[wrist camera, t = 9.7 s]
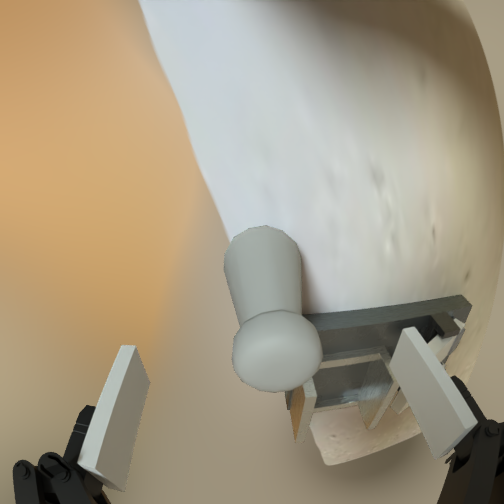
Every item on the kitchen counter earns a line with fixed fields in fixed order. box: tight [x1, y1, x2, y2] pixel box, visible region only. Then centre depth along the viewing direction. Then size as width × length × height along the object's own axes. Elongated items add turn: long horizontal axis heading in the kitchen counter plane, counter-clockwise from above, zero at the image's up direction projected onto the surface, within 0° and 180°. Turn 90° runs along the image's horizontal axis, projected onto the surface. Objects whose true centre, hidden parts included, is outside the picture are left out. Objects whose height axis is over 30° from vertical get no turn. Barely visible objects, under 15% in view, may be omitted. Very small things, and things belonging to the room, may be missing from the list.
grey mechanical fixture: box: [285, 295, 472, 443], centre depth 26 cm, size 13×22×8 cm, turn 91°
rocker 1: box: [390, 361, 446, 415], centre depth 26 cm, size 4×8×2 cm, turn 91°
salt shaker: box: [224, 225, 323, 393], centre depth 17 cm, size 6×6×13 cm
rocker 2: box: [427, 318, 465, 362], centre depth 23 cm, size 4×8×2 cm, turn 91°
